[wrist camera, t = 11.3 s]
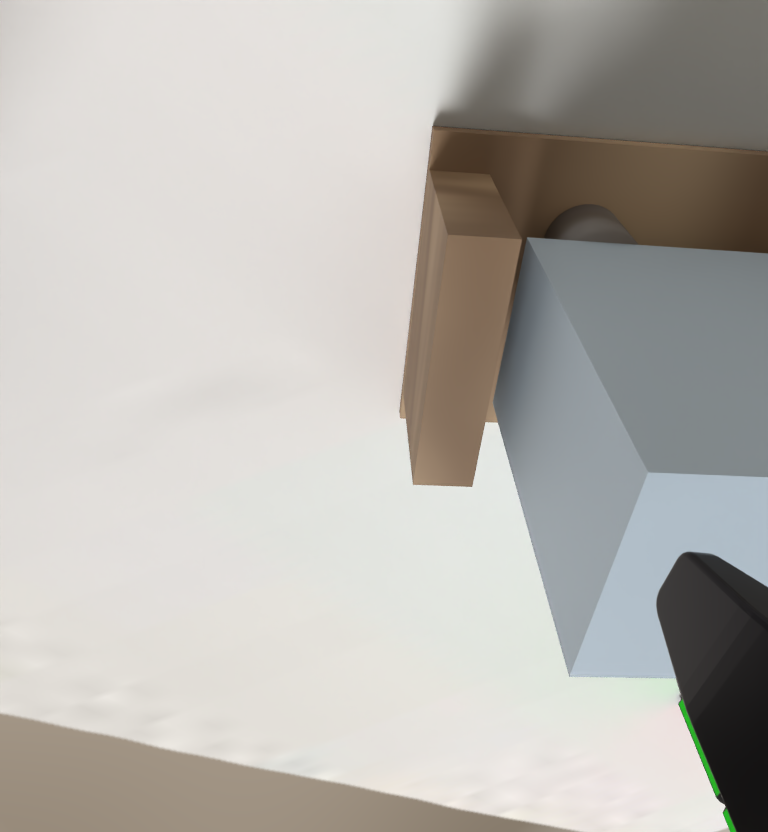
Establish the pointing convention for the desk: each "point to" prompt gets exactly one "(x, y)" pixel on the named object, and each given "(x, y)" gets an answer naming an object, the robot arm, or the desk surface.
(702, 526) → the pale blue block
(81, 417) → the desk surface
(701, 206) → the peg rest
